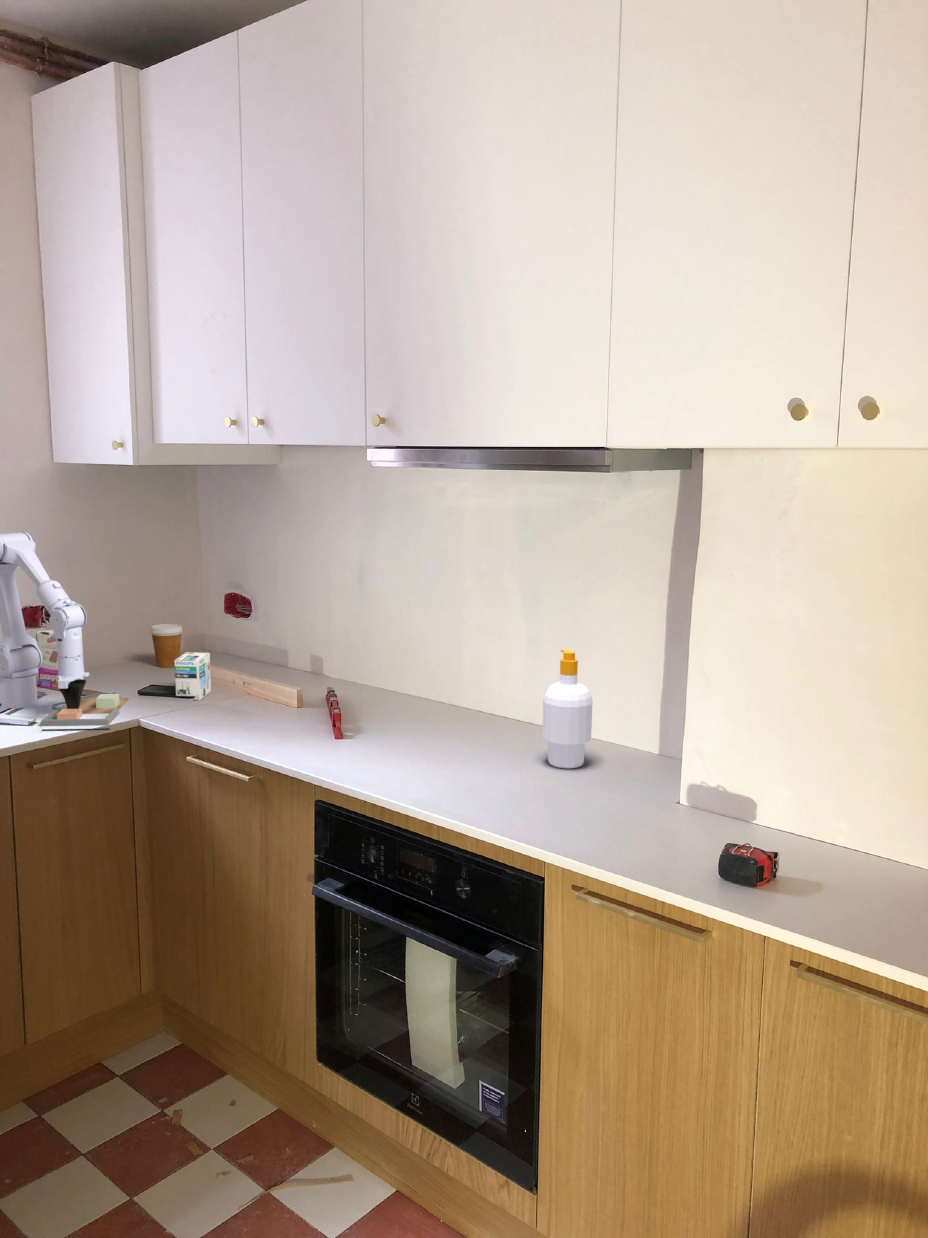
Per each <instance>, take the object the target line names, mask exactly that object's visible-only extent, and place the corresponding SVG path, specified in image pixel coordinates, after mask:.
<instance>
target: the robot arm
mask: <svg viewBox="0 0 928 1238" xmlns="http://www.w3.org/2000/svg"><path fill="white" fill-rule="evenodd" d="M36 550H37V549H36V542H35V541H34V540H33V537H32V536H31V535H30V534H29V532H26V531H19V532H11V533H10V532H9V533H0V628H1V633H2V639H1V640H0V709H26V708H32V707H35V706H37V705H38V704H39V703H38V700H39V699H38V689H37V688H38V687H37V673H38V669H39V668H40V667H41V665H42V661H43V657H42V653H41V651H40V649H39V648H38V645H37V641H36V638H34V637H32V636H31V635H29V634H28V633H27V629H26V625H25V620H24V616H23V612H22V607H21V602H20V596H19V592H18V588H17V582H16V577H15V572H16V571H15V570H16V569H17V567H18V566H19V568H21V570H23V572H24V573H25V574H26V575H27V577H28V578H29V579H30V581H32V583H33V584H34V585H35V586H36V587H37V588H36V592H35V594H36V596H37V598H38V599H39V601H40V602H41V604H42V605H43V606H44V608H45V609H46V611H47V613H48V614H49V615H50V617H49V618H48V621H49V624H50V626H51V628H52V629H53V632H54V636H55V638H56V641H57V658H58V690H59V691H60V693H61V695H62V696H63V699H64V702H65V705H66V708H67V709H79V706H80V700H81V699H82V694H83V691H84V688H85V686H86V684H87V680H86V679H85V678H87V677H89V676H90V672H85V667H84V649H83V645H84V644H83V631H82V630H83V629H82V628H83V627H85V625H86V624H87V619H88V618H87V612H86V610H85V608H84V607H83V606H82V604H79V603H76V601H74V600H71V598H70V597H69V595H68V594H67V593H66V591H65V590H64V588H63V587H62V585H61V583H60V582H59V581H57V580H52V579H50V578H51V577H50V576H49V574H48V573H47V571H46V570H45V568H44V566H43V565H42V562H41V561H40V559H39V557H38V556H37V554H36ZM17 647H19V648H17ZM12 648H13V649H12ZM38 674H39V673H38ZM83 677H84V679H80V678H83Z"/></svg>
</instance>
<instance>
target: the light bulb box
mask: <svg viewBox="0 0 928 1238" xmlns="http://www.w3.org/2000/svg"><path fill="white" fill-rule="evenodd" d="M174 662H175V667H174V677H175V678H174V679H175V681H174V682H175V696H176V697H177V696H178V697H181V696H182V697H194V698H193V700H194V701H201V700H203V699H204V698H205V697H206V696H207V695H208V694H209V693H210V692H212V681H211V680H212V678H211V677H212V676H211V675H212V673H211V653H210V652H197V651H195V652H193V651H187V652H185V653H183V654H182V655H180V656H179V658H177V659H176V660H174Z"/></svg>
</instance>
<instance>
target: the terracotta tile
mask: <svg viewBox="0 0 928 1238" xmlns="http://www.w3.org/2000/svg"><path fill="white" fill-rule="evenodd" d="M82 717H83V714H82V709H66V708H62V709H61V710H60V712H59V713H57V717H56V719H82Z"/></svg>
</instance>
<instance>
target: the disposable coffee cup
mask: <svg viewBox="0 0 928 1238" xmlns="http://www.w3.org/2000/svg"><path fill="white" fill-rule="evenodd" d="M149 632H150V634H151V637H152V638H151V639H152V644H153V650H154V654H155V655H154V656H155V660H156V661H155V662H156V666H157V667H158V668H162V669H163V668H175V662H174V660H176V659H177V658H179V657H180V656H181V655H180V654H181V646H182V645H181V643H182V634H183V632H184V629H183V626H182V625H181V624H176V623H163V624H162V623H160V624H155V625H152V626H151V627H150V630H149Z"/></svg>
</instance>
